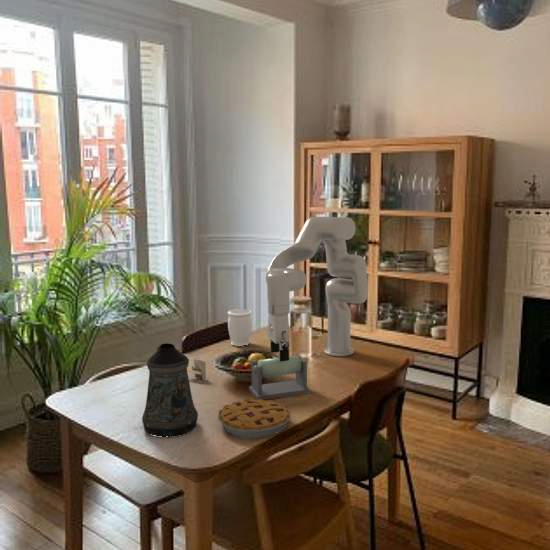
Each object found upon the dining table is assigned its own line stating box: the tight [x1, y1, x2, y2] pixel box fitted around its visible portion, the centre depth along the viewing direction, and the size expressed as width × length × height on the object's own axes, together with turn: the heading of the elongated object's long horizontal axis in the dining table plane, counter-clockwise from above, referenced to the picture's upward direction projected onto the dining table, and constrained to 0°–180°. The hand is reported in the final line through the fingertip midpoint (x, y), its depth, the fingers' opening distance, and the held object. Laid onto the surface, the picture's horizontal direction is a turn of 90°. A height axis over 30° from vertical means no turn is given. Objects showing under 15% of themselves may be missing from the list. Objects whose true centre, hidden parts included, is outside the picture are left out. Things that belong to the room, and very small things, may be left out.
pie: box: [217, 398, 291, 439], centre depth 176 cm, size 22×22×5 cm
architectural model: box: [187, 358, 207, 381], centre depth 216 cm, size 3×7×7 cm, turn 53°
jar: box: [227, 308, 253, 347], centre depth 258 cm, size 11×10×15 cm
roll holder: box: [248, 354, 311, 400], centre depth 202 cm, size 10×19×11 cm, turn 109°
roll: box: [254, 355, 303, 378], centre depth 202 cm, size 6×18×6 cm, turn 109°
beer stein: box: [141, 342, 199, 438], centre depth 175 cm, size 16×19×25 cm
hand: (279, 356), depth 201 cm, fingers open, 9 cm apart
